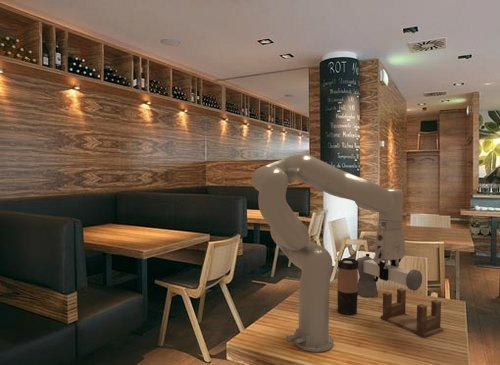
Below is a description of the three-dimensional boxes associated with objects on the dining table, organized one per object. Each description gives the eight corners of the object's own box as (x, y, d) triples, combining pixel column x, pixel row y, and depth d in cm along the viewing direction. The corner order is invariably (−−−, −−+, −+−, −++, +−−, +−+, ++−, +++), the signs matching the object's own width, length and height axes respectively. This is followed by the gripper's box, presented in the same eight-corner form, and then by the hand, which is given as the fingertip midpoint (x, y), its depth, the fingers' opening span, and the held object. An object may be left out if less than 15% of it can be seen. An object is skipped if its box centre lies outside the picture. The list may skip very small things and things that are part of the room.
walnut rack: (443, 330, 129) (443, 302, 129) (424, 337, 124) (425, 308, 123) (398, 313, 144) (399, 287, 144) (380, 318, 139) (380, 292, 139)
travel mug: (358, 316, 141) (359, 263, 140) (337, 314, 143) (338, 262, 142) (356, 308, 149) (357, 258, 148) (336, 307, 150) (337, 257, 149)
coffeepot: (349, 290, 171) (350, 251, 170) (367, 288, 173) (367, 249, 172) (369, 302, 156) (370, 259, 155) (388, 299, 159) (389, 257, 158)
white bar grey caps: (421, 288, 120) (422, 269, 119) (409, 292, 116) (409, 271, 116) (370, 272, 138) (371, 255, 137) (358, 274, 134) (358, 257, 134)
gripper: (382, 228, 119) (380, 285, 119) (415, 225, 127) (413, 278, 128) (363, 225, 125) (362, 279, 126) (396, 221, 134) (395, 272, 134)
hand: (388, 278), depth 127 cm, fingers closed on white bar grey caps, 4 cm apart
